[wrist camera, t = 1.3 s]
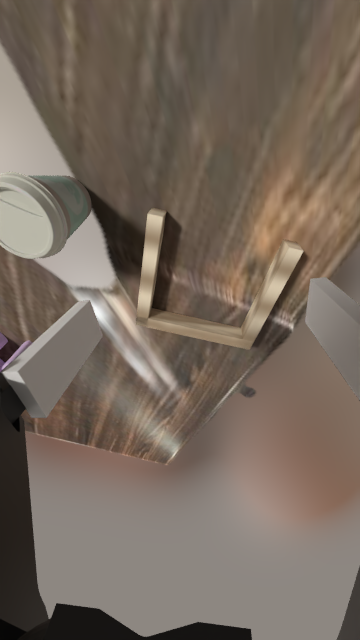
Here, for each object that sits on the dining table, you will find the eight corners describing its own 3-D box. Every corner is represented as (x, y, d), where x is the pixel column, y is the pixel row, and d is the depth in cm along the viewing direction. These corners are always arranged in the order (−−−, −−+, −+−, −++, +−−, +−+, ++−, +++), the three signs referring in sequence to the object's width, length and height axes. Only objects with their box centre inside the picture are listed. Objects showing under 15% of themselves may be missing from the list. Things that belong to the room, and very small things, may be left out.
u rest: (152, 207, 33) (147, 213, 30) (296, 242, 34) (303, 250, 31) (139, 314, 45) (135, 324, 42) (247, 337, 45) (249, 349, 43)
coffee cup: (113, 208, 34) (75, 236, 24) (75, 241, 37) (29, 276, 28) (66, 147, 30) (-2, 151, 20) (28, 190, 33) (-44, 211, 24)
